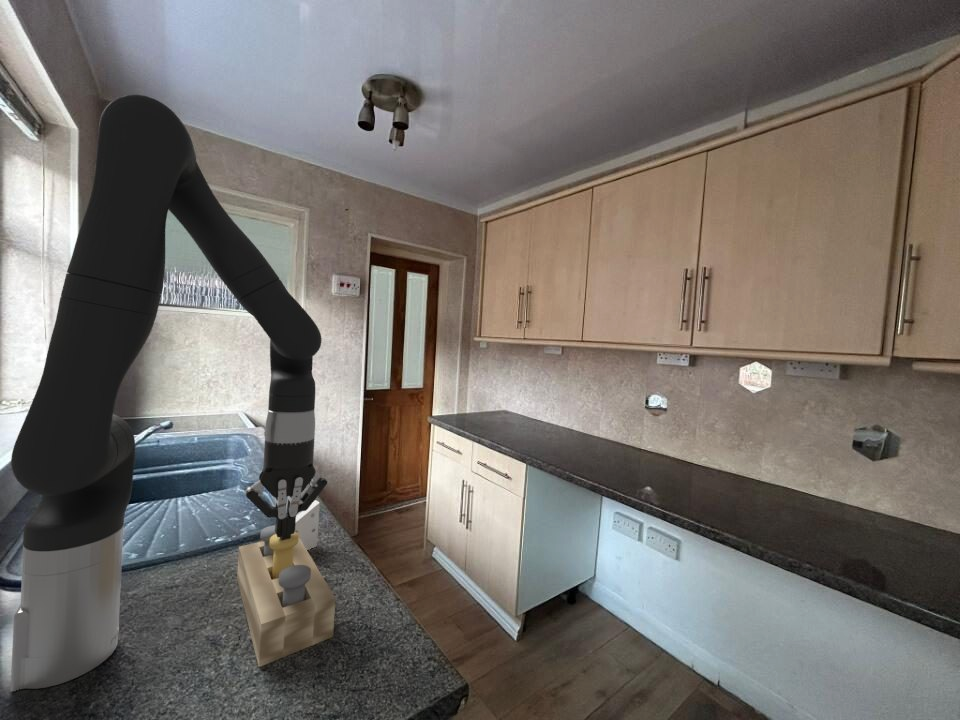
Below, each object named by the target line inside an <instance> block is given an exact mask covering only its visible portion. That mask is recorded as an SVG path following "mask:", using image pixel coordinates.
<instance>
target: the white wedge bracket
mask: <svg viewBox="0 0 960 720" xmlns="http://www.w3.org/2000/svg"><path fill="white" fill-rule="evenodd" d="M320 507H321V505H320V502H319V501H318V500H316V499H315V500H314V501H313V503H312V504H311V505H310V507H309V508H308V509H307V510H306V511H301V512H299V513H298V514H297V515H296V523H295V532H296V533H298V534H299V538H300V540H301V541H302V543H303V545H304V546H305V548H306V550H308V549H311V548H314V547H316V546H317V547H318V536H319V519H320V518H319V517H320ZM314 549H315V548H314Z"/></svg>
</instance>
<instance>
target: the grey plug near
mask: <svg viewBox="0 0 960 720" xmlns="http://www.w3.org/2000/svg"><path fill="white" fill-rule="evenodd" d="M310 577H311V569H310V567H308V566H306V565H294V566H290V567H288V568H286V569H284V570H283V571H281V572H280V574H279V585H280V586H281V587H283V604H282V608H284V607H286V606H289V605H292V604H295V603H298V602H301V601H304V595H305V584H306V583H307V582H308V581H309V580H310Z"/></svg>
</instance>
